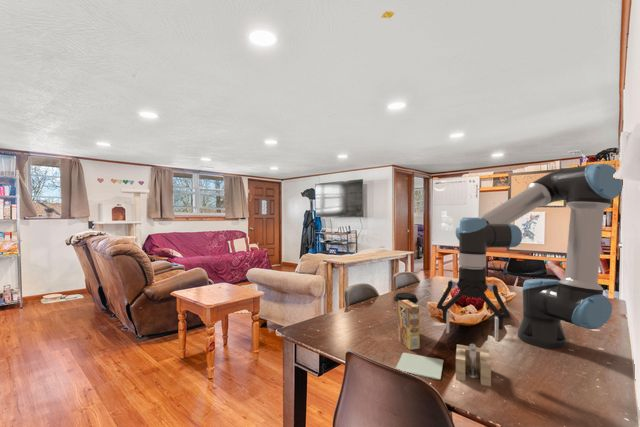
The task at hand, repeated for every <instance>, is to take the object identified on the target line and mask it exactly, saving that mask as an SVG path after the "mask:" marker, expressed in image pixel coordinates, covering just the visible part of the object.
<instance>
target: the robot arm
mask: <svg viewBox="0 0 640 427" xmlns="http://www.w3.org/2000/svg"><path fill="white" fill-rule="evenodd" d="M616 170H617V169H616V168H615V167H614V166H612V165H610V164H607V163H595V164H594V163H590V164H587V165H580V166H575V167H567V168H559V169H557V170H553V171H551V172H549V173H548V174H545V175H543V176H542V177H540V178H538V179H536V180H534V181H533V182H531V183H529V184H528V185H527V186H526V188H525V189H524V190H522V191H521V192H519V193H518V194H516V195H514V196H513V197H511V198H510V199H507V200H506V201H504V202H503V203H501V204H499V205H498V206H496V207H494V208H492V209H491V210H489V211H487V212H485V213H484V214H482V215H481V216H479V217H462V218H461V219H460V220H459V224H458V225H457V226H456V229H455V236H456V238H457V240H458V241H459V244H458V245H459V246H458V247H459V250H458V251H459V252H458V265H459V268H458V281H453V280H452V279H449V280H448V283H447V286H446V288H445V291H444V292H443V294H442V296H441V297H440V299H439V301H438V303H437V305H436V309H438V310H441V311H442V321H443V322H446V324H445V325H446V326H445V327H446V328H445V330H446V331H445V333H446V334H449V333H450V310H449V309H450V308H452V307H453V306H454V304H456V303H457V302H458V301H459V300H460V299H461V298H462V297H463V296H464V297H466V298H474V299H478V298H480V299H482V300H483V302H485V304H486V305H487V306H488V307H489V308H490V309H491V310H492V312H493V313H494V315H495V316H494V340H495V342H499V330H503V328H504V324H503V323H504V319H510V317H511V314H510V312H509V311H508V308H507V307H506V305H505V303H504V301H503V299H502V297H501V295H500V293H499V290H498V285H497V284H496V283H493V284H487V283H486V282H487V281H486V280H487V276H486V275H487V270H486V267H487V249H490V248H493V249H495V248H496V249H497V248H498V249H499V248H501V249H502V248H504V249H509V248H516V247H518V246H519V245H520V244H522V239H523V233H522V232H523V231H522V230H521V228H520V227H519V226H518V225H516V224H512V223H514V222H515V221H517V220H519V219H520V218H523V217H524V216H525V215H527V214H529V213H531V212H532V211H534V210H535V209H537V208H539V207H545V206H547V205H549V204H552V203H554V202H555V203H556V202H562V201H565V205H566V206H567V207H568V208H570V213H569V224H568V234H567V235H568V238H567V246H566V247H567V248H566V259H565V270H564V277H563V278H562V279H560V280H559V279H552V278H531V279H525V280H524V282H523V284H522V285H523V286H522V312H523V313H522V319H521V321H520V324H519V327H518V330H517V337H518V338H519V339H520V341H523V342H525V343H527V344H529V345H532V346H537V347H541V348H547V349H563V348H566V347H567V346H568V340H567V337H566V334H565V330H564V328H563V325H562V321H563V322H566V323H569V324H570V325H573V326H576V327H579V328H584V329H586V330H597V329H599V328H602V327H604V325H605V324H607V322H608V321H609V320H610V319H611V316H612V312H613V305H612V303H611V300H610V299H609V298H608V297H607V296H605V295H604V288H603V287H602V285H600V284H599V272H600V271H599V270H600V260H601V246H602V238H603V236H602V235H603V224H604V214H605V211H606V210H607V209H608V208H609V207H611V205H612V203H611V202H612V200H613V199H616V198H618V197H619V196H620V194H622V191H623V188H624V187H623V179H622V180H620V179H615V178H613V174H614V173H615V172H616ZM455 287H457V288H458V290H459V291H458V292H457V293H456V294H455V295H454V296H453V297H452V298H451V299H450V300H449V301H448V302H447V303H446V304H445V305H444V303H445V301H446V300H447V298H448V296H449V294H450V293H451V291H452V289H454V288H455ZM487 290H489V291H490V292H491V293H493V295H494V297H495V300H496V301H497V303H498V304H499V306H500V309H501V310H502V312H501V311H500V310H499V309H498V308H497V306H496V305H495V304H494V303H493V302H492V301H491V299H490V298H489V297H488V296H487V294H486V293H485V292H487Z"/></svg>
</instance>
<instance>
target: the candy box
mask: <svg viewBox="0 0 640 427" xmlns="http://www.w3.org/2000/svg"><path fill="white" fill-rule="evenodd" d="M398 321H399V329H398V341H399V342H400V343H402V345H404V346H405V347H406V348H407V349H408V350H419V349H420V343H421V342H420V338H421V337H420V306H419V305H418V304H417V305H416V304H414V303H412V302H410V301H409V300H399V301H398V320H397V322H398Z"/></svg>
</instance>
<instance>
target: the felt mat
mask: <svg viewBox="0 0 640 427" xmlns="http://www.w3.org/2000/svg"><path fill="white" fill-rule="evenodd" d="M443 365H444V359H440V358H435V357H429V356H425V355H418V354H414V353H413V354H412V353H407V352H402V354H401V356H400V358H399V360H398V362H397V364H396V366H395V369H396V368H397V369H400V370H402V371H406V372H409V373H411V374H410V375H413V374H414V375H413V376H419V377H423V378H426V379H427V378H428V379H433V380H437V381H441V380H442V372H443V367H444V366H443Z"/></svg>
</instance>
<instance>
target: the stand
mask: <svg viewBox="0 0 640 427" xmlns="http://www.w3.org/2000/svg"><path fill="white" fill-rule="evenodd" d="M468 346H469V369H468V372H467V373H466V376H467V377H468V378H471V379H475V380H477V379H479V374H478V373H477V371H476V350H477V348H478V347H477V345H476V344H475V343H470V344H468Z"/></svg>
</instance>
